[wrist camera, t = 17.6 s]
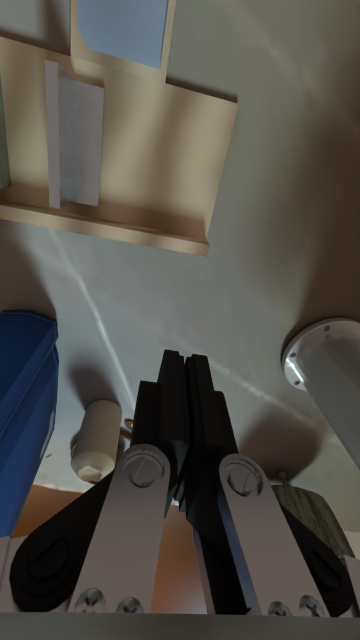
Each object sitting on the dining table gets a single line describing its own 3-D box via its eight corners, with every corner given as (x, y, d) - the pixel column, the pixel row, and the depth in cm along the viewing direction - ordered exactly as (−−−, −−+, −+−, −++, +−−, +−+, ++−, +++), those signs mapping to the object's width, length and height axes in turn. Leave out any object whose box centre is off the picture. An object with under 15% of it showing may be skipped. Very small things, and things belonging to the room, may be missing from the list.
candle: (110, 394, 40) (97, 457, 32) (128, 416, 43) (121, 480, 34) (78, 406, 41) (57, 471, 32) (98, 427, 44) (84, 493, 35)
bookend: (105, 90, 22) (92, 72, 18) (99, 206, 26) (87, 214, 22) (67, 79, 22) (44, 59, 17) (67, 199, 26) (49, 206, 22)
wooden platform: (280, -71, 19) (327, -159, 14) (201, 253, 30) (210, 272, 25) (-112, -229, 15) (-255, -438, 10) (-35, 210, 26) (-82, 222, 21)
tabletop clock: (233, 481, 55) (283, 689, 33) (260, 456, 51) (335, 672, 29) (288, 494, 59) (364, 686, 37) (316, 472, 55) (418, 670, 33)
